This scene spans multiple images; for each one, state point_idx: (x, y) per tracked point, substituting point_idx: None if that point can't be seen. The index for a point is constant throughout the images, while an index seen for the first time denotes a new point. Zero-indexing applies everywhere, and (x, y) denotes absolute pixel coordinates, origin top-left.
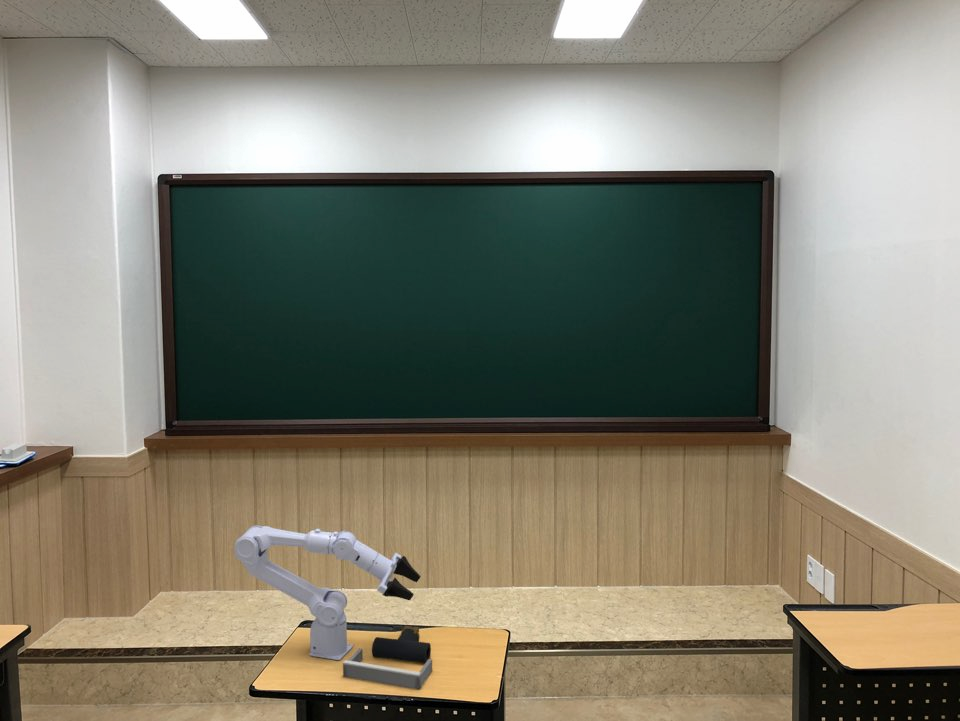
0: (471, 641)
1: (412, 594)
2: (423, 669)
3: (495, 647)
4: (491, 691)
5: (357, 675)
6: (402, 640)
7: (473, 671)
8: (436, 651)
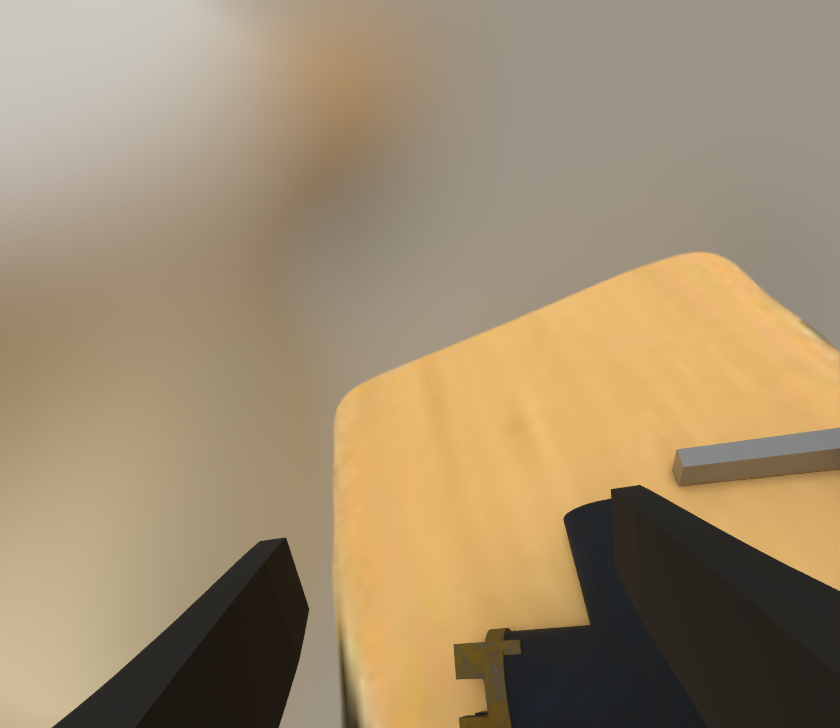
0: (415, 437)
1: (641, 492)
2: (793, 442)
3: (430, 363)
4: (659, 263)
5: None
6: (660, 684)
7: (586, 348)
8: (522, 525)
